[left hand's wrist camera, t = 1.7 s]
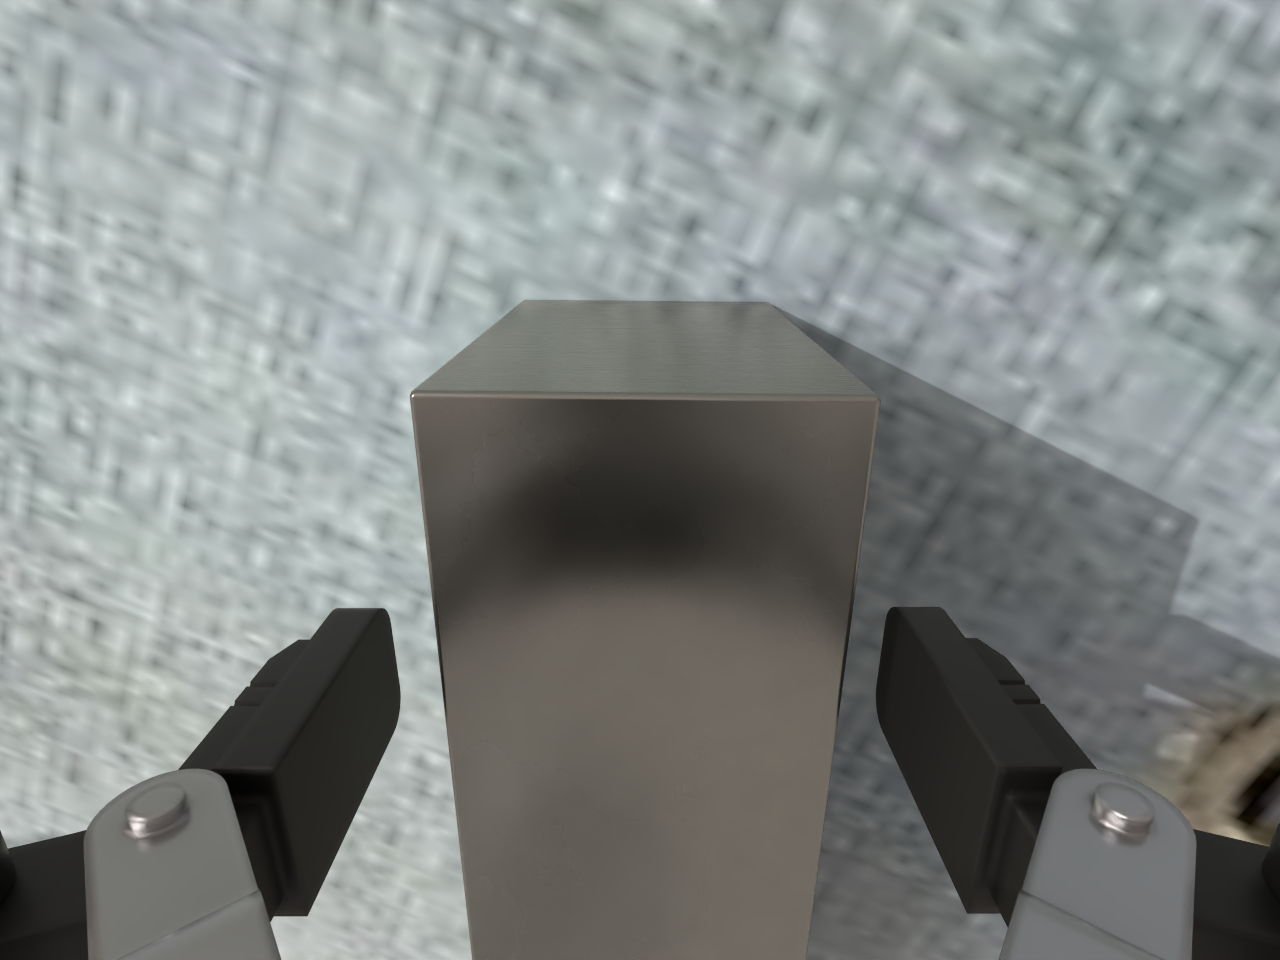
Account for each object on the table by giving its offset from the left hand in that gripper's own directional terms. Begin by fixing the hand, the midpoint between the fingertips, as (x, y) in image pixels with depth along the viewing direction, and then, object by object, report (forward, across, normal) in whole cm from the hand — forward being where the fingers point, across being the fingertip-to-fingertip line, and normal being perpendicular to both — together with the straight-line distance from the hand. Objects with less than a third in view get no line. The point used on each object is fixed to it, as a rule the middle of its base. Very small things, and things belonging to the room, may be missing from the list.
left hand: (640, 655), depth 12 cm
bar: (+8, 0, -8) cm, 11 cm away
